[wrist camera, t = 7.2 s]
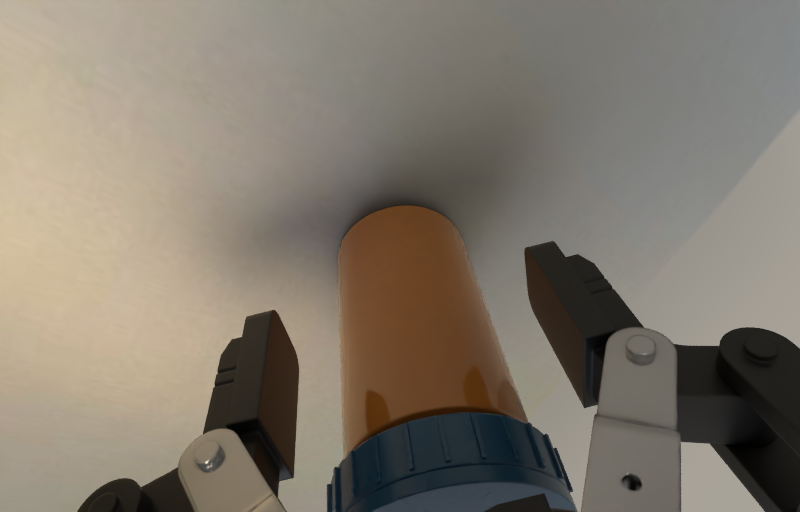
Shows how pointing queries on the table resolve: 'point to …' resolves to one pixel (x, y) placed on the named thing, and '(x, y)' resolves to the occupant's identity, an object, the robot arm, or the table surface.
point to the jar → (414, 327)
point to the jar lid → (450, 467)
